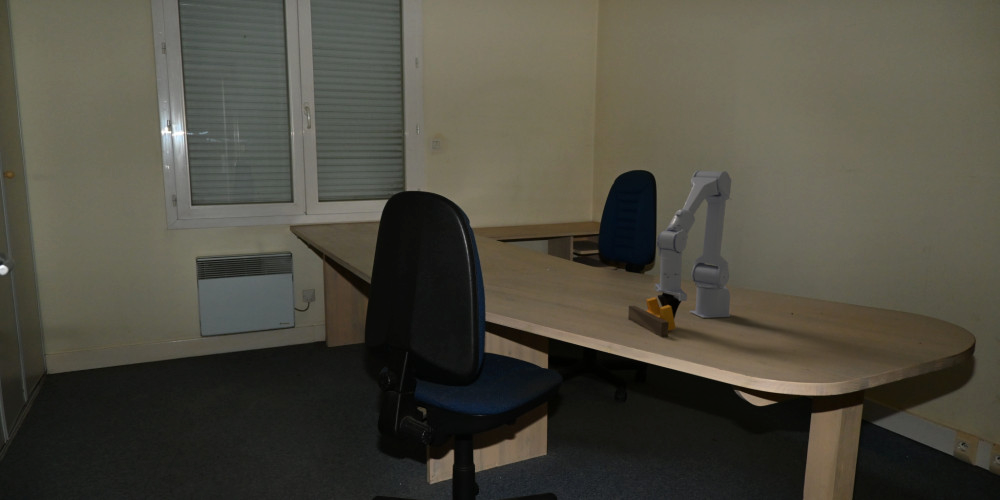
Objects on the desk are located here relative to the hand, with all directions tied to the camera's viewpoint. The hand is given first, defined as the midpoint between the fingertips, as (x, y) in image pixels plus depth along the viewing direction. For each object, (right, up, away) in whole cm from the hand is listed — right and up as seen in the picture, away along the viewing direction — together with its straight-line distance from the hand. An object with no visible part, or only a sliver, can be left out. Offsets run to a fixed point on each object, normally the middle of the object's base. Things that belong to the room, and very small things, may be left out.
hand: (669, 320), depth 190 cm
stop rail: (-7, -2, -1) cm, 7 cm away
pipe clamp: (-3, -2, -1) cm, 3 cm away
